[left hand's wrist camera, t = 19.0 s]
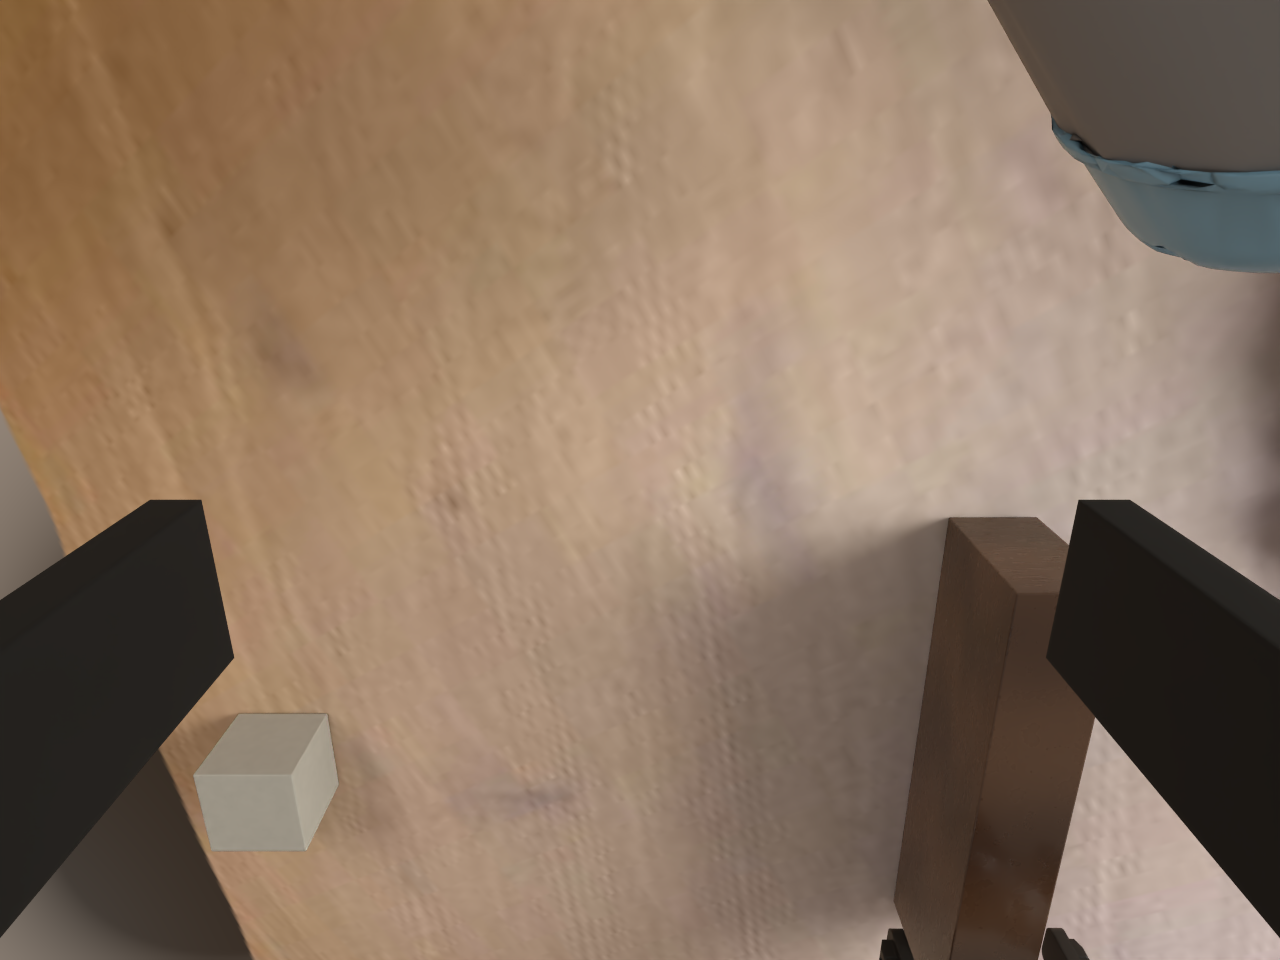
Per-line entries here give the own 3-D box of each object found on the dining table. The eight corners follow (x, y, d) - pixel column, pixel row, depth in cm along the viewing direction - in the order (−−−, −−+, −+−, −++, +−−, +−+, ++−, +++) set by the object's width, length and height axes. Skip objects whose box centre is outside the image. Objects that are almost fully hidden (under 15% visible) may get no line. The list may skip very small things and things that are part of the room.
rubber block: (238, 713, 45) (192, 775, 41) (327, 713, 45) (291, 775, 41) (253, 784, 47) (211, 851, 42) (339, 784, 47) (306, 851, 42)
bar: (948, 517, 41) (1017, 593, 34) (1037, 516, 41) (1125, 593, 34) (893, 900, 50) (937, 1028, 43) (965, 900, 50) (1022, 1027, 43)
